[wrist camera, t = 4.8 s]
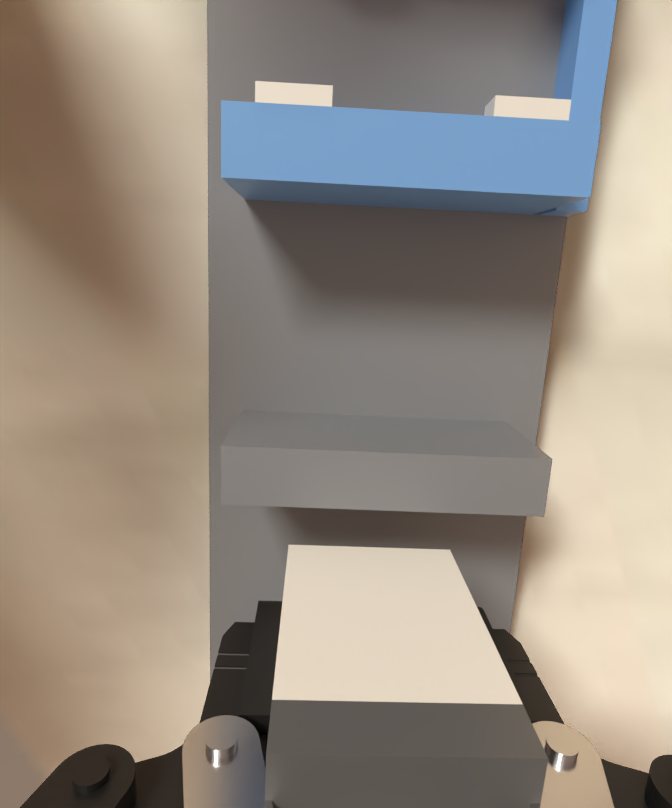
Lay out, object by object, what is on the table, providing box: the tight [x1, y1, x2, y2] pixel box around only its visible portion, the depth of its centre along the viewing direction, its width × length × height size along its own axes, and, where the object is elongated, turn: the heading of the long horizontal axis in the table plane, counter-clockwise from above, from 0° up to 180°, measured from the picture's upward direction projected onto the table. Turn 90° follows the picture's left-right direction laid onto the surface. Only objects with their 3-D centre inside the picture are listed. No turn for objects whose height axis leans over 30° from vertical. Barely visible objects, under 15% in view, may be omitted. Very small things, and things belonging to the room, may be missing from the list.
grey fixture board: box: [207, 0, 617, 682], centre depth 15 cm, size 10×26×5 cm, turn 177°
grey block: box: [265, 545, 548, 808], centre depth 11 cm, size 4×4×6 cm
